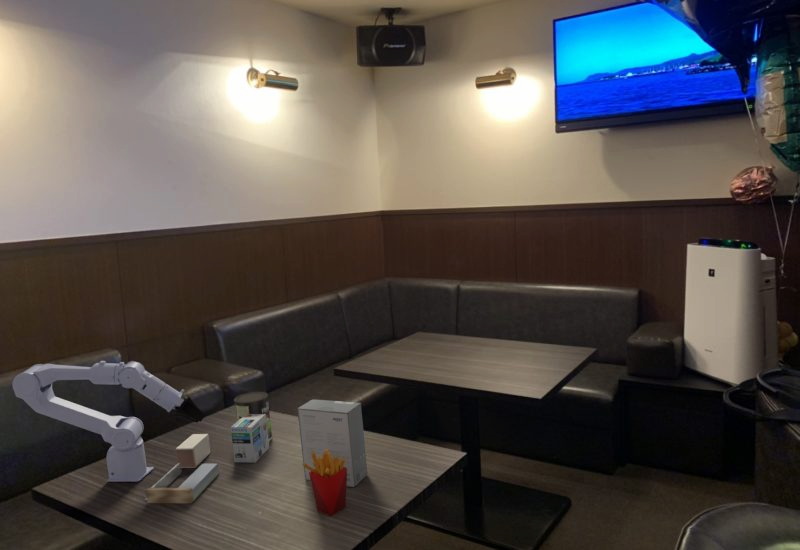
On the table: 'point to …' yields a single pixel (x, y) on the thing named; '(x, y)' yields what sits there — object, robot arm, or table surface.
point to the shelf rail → (169, 495)
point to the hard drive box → (334, 435)
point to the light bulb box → (250, 438)
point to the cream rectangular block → (193, 450)
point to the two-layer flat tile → (201, 478)
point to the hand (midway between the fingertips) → (201, 419)
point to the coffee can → (253, 406)
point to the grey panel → (168, 478)
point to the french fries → (328, 483)
